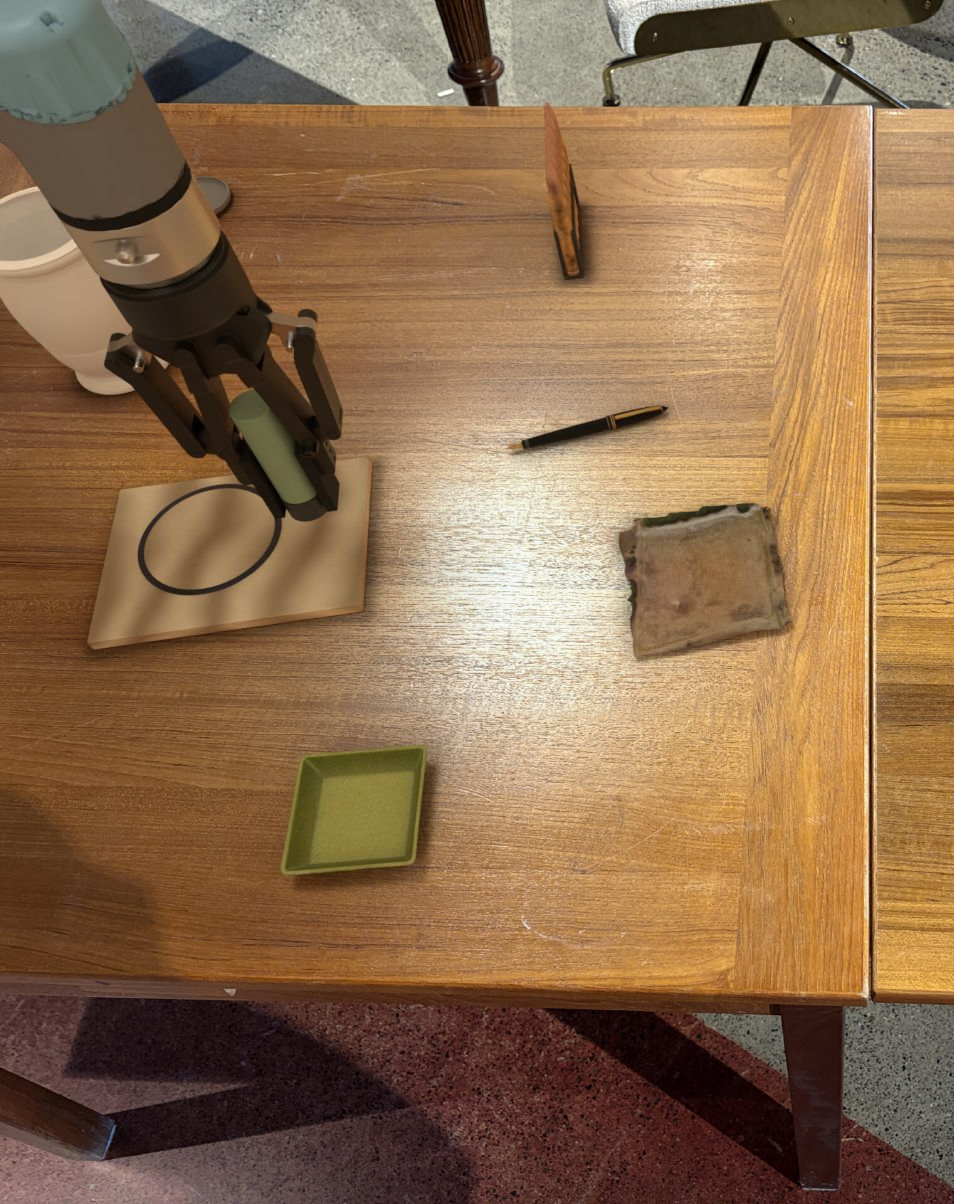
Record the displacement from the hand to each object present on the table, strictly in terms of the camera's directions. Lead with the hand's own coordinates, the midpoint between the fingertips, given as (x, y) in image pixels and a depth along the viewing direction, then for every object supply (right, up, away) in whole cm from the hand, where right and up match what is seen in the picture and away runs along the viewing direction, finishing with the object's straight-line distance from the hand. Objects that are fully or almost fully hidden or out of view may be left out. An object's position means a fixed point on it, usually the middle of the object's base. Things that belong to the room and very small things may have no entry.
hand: (307, 500), depth 88 cm
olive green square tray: (+8, -23, -9) cm, 26 cm away
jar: (-23, +14, +16) cm, 31 cm away
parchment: (+30, -6, +1) cm, 31 cm away
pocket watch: (-24, +32, +29) cm, 49 cm away
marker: (0, 0, 0) cm, 1 cm away
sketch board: (-7, -4, +4) cm, 9 cm away
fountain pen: (+20, +6, +10) cm, 23 cm away
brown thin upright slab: (+15, +27, +24) cm, 39 cm away
